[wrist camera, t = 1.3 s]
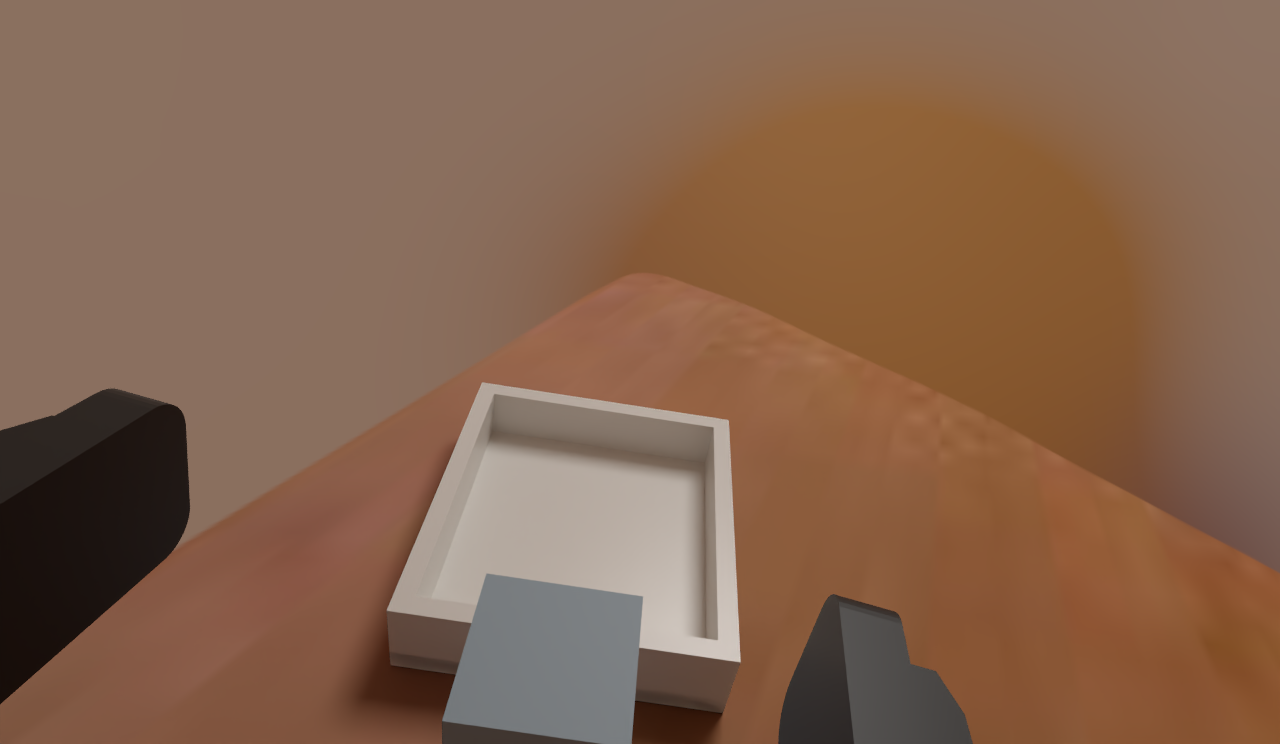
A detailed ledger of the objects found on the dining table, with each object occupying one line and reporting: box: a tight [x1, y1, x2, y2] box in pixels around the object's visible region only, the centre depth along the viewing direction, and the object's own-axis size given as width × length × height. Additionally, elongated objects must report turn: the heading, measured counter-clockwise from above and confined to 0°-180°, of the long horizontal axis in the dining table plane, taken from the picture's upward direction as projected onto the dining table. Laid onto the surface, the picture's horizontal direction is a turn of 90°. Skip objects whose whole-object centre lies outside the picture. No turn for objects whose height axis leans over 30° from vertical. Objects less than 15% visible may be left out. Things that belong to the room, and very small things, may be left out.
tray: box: [387, 382, 740, 713], centre depth 43 cm, size 16×18×4 cm
